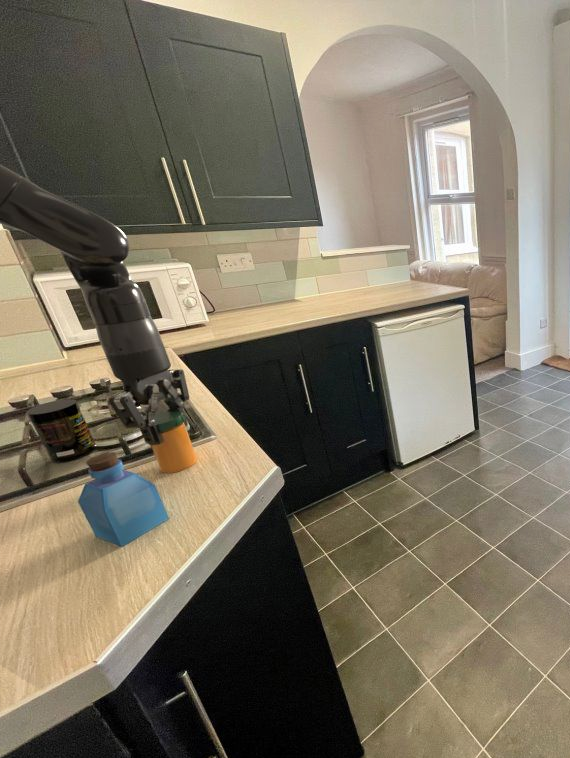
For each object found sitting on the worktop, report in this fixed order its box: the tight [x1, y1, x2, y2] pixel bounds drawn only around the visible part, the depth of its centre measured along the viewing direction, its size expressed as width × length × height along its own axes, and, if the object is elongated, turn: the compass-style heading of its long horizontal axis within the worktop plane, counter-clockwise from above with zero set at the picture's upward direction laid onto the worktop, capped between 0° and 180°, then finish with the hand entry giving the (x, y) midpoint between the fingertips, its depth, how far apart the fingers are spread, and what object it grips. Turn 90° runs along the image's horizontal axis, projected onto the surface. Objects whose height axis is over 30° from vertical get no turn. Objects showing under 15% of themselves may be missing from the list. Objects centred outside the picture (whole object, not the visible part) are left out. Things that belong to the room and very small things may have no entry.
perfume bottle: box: [77, 451, 170, 548], centre depth 60 cm, size 6×6×12 cm
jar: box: [149, 422, 198, 474], centre depth 77 cm, size 6×6×9 cm
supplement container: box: [26, 398, 97, 463], centre depth 81 cm, size 7×7×10 cm
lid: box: [155, 411, 185, 432], centre depth 75 cm, size 6×6×2 cm
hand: (169, 434), depth 76 cm, fingers closed on lid, 5 cm apart
